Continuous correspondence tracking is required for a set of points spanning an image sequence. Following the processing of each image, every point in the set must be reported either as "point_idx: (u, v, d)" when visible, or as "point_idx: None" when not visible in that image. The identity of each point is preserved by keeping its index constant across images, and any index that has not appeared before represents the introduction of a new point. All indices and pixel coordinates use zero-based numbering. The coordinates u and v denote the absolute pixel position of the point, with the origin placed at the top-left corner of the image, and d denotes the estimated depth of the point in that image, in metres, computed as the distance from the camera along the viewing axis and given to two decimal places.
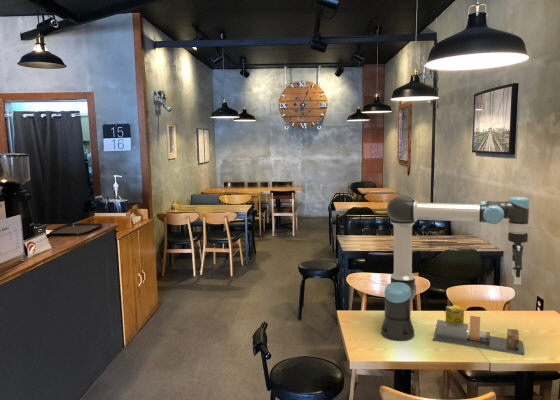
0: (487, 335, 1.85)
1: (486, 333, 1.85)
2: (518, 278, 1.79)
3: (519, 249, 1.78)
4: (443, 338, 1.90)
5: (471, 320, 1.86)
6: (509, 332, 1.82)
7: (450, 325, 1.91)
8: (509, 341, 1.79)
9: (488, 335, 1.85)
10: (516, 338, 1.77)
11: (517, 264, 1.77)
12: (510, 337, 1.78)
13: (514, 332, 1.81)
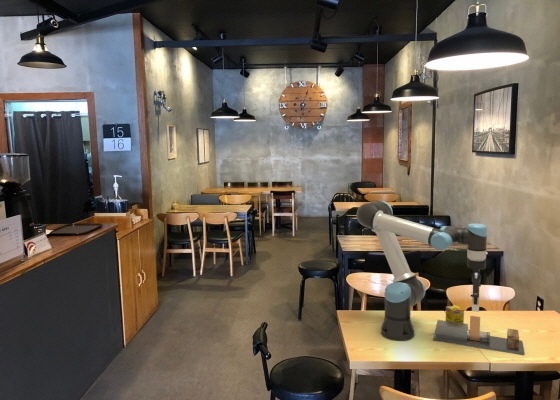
0: (487, 335, 1.85)
1: (486, 333, 1.85)
2: (476, 305, 1.80)
3: (476, 276, 1.79)
4: (443, 338, 1.90)
5: (471, 320, 1.86)
6: (509, 332, 1.82)
7: (450, 325, 1.91)
8: (509, 341, 1.79)
9: (488, 335, 1.85)
10: (516, 338, 1.77)
11: (474, 292, 1.77)
12: (510, 337, 1.78)
13: (514, 332, 1.81)
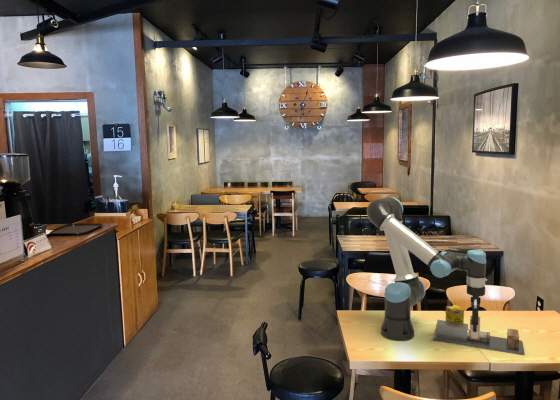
0: (487, 335, 1.85)
1: (486, 333, 1.85)
2: (475, 333, 1.85)
3: (476, 307, 1.81)
4: (443, 338, 1.90)
5: (471, 320, 1.86)
6: (509, 332, 1.82)
7: (450, 325, 1.91)
8: (509, 341, 1.79)
9: (488, 335, 1.85)
10: (516, 338, 1.77)
11: (473, 321, 1.82)
12: (510, 337, 1.78)
13: (514, 332, 1.81)
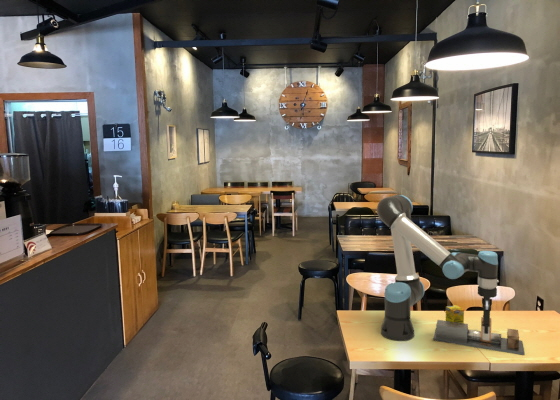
0: (498, 337, 1.83)
1: (497, 335, 1.83)
2: (486, 334, 1.83)
3: (487, 308, 1.79)
4: (443, 338, 1.90)
5: (482, 322, 1.84)
6: (509, 332, 1.82)
7: (450, 325, 1.91)
8: (509, 341, 1.79)
9: (499, 336, 1.83)
10: (516, 338, 1.77)
11: (485, 322, 1.80)
12: (510, 337, 1.78)
13: (514, 332, 1.81)
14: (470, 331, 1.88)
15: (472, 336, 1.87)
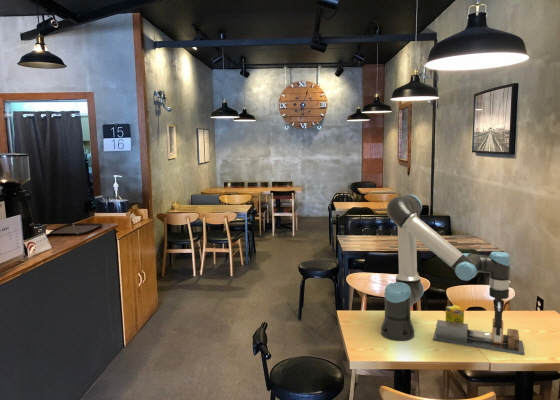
0: None
1: None
2: (498, 336, 1.81)
3: (499, 310, 1.77)
4: (443, 338, 1.90)
5: (494, 323, 1.82)
6: (509, 332, 1.82)
7: (450, 325, 1.91)
8: (509, 341, 1.79)
9: None
10: (516, 338, 1.77)
11: (497, 324, 1.78)
12: (510, 337, 1.78)
13: (514, 332, 1.81)
14: (481, 333, 1.86)
15: (483, 338, 1.85)
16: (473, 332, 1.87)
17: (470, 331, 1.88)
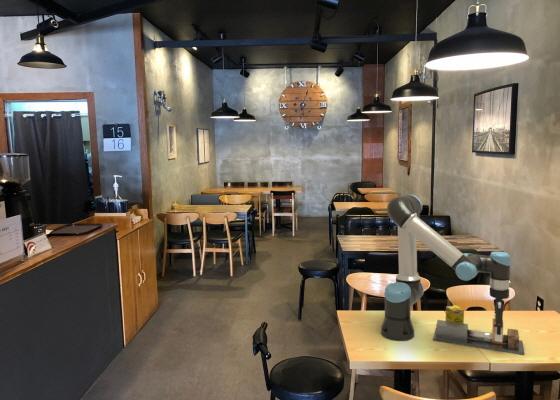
0: None
1: None
2: (499, 335, 1.77)
3: (500, 306, 1.76)
4: (443, 338, 1.90)
5: (494, 323, 1.82)
6: (509, 332, 1.82)
7: (450, 325, 1.91)
8: (509, 341, 1.79)
9: None
10: (516, 338, 1.77)
11: (498, 322, 1.75)
12: (510, 337, 1.78)
13: (514, 332, 1.81)
14: (481, 333, 1.86)
15: (483, 338, 1.85)
16: (472, 332, 1.87)
17: (470, 331, 1.88)
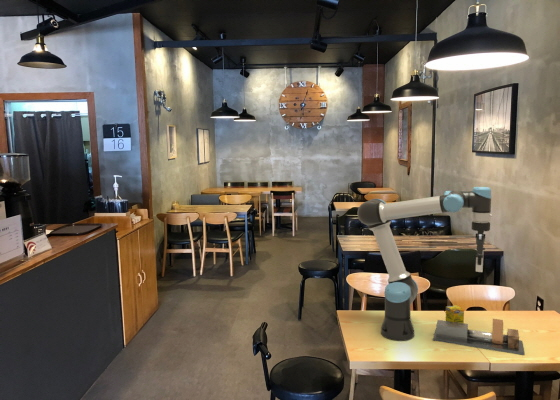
0: None
1: None
2: (480, 266, 1.84)
3: (480, 237, 1.82)
4: (443, 338, 1.90)
5: (494, 323, 1.82)
6: (509, 332, 1.82)
7: (450, 325, 1.91)
8: (509, 341, 1.79)
9: None
10: (516, 338, 1.77)
11: (478, 252, 1.81)
12: (510, 337, 1.78)
13: (514, 332, 1.81)
14: (481, 333, 1.86)
15: (483, 338, 1.85)
16: (472, 332, 1.87)
17: (470, 331, 1.88)
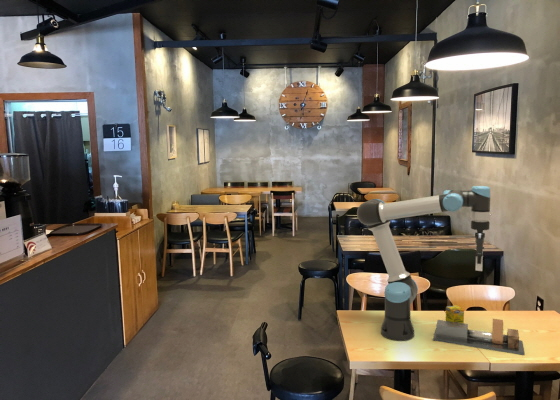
0: None
1: None
2: (479, 265, 1.84)
3: (480, 236, 1.83)
4: (443, 338, 1.90)
5: (494, 323, 1.82)
6: (509, 332, 1.82)
7: (450, 325, 1.91)
8: (509, 341, 1.79)
9: None
10: (516, 338, 1.77)
11: (478, 251, 1.81)
12: (510, 337, 1.78)
13: (514, 332, 1.81)
14: (481, 333, 1.86)
15: (483, 338, 1.85)
16: (472, 332, 1.87)
17: (470, 331, 1.88)
